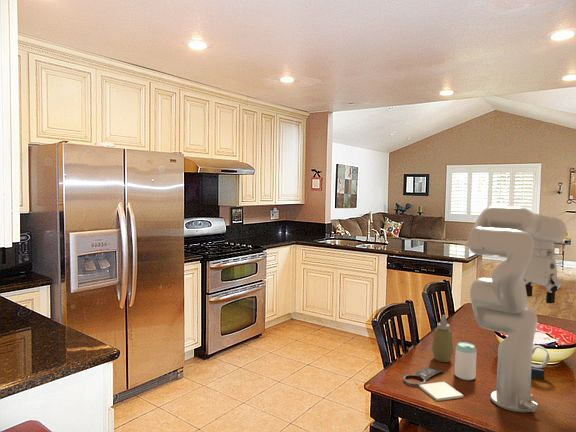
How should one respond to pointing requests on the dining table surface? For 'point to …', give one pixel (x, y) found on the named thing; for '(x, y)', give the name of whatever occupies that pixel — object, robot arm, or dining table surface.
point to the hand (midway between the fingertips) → (538, 299)
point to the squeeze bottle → (442, 341)
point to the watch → (536, 369)
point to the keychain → (421, 376)
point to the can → (465, 361)
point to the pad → (441, 391)
